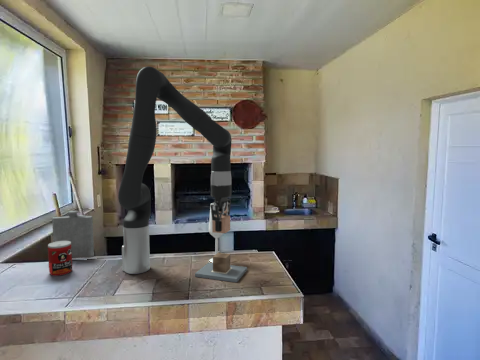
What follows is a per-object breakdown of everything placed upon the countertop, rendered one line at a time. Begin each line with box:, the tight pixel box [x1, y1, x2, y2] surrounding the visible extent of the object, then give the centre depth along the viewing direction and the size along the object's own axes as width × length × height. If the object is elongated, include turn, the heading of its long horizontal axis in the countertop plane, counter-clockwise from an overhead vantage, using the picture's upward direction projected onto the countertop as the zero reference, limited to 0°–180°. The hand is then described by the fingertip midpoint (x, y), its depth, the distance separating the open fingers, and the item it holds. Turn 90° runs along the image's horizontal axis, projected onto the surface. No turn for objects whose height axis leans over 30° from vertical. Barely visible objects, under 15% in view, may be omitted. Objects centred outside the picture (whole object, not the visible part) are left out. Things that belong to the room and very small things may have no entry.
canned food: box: [47, 241, 73, 277], centre depth 119 cm, size 8×8×11 cm
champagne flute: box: [208, 202, 224, 263], centre depth 130 cm, size 7×7×24 cm
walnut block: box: [212, 252, 231, 273], centre depth 117 cm, size 5×5×6 cm
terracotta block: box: [212, 215, 231, 234], centre depth 116 cm, size 5×5×6 cm
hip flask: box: [51, 210, 95, 259], centre depth 135 cm, size 16×4×20 cm, turn 98°
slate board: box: [194, 262, 248, 283], centre depth 118 cm, size 16×12×1 cm
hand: (221, 229), depth 116 cm, fingers closed on terracotta block, 5 cm apart
